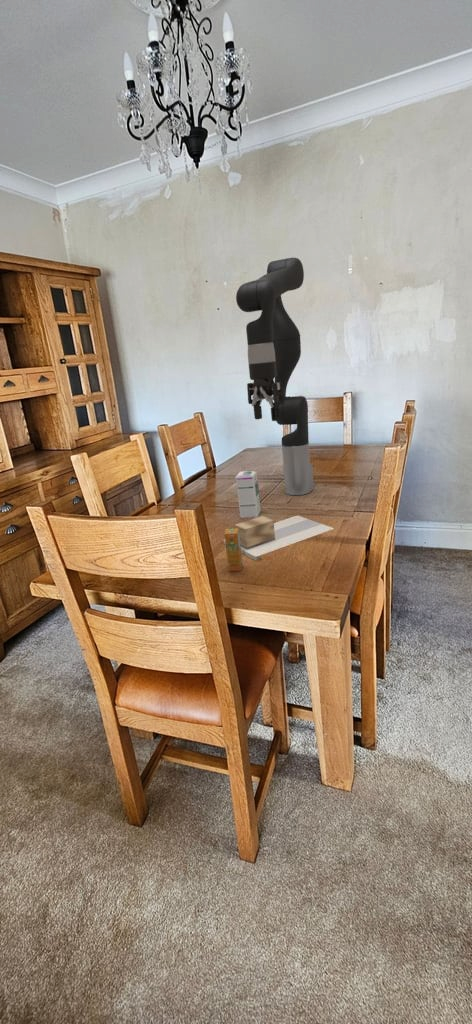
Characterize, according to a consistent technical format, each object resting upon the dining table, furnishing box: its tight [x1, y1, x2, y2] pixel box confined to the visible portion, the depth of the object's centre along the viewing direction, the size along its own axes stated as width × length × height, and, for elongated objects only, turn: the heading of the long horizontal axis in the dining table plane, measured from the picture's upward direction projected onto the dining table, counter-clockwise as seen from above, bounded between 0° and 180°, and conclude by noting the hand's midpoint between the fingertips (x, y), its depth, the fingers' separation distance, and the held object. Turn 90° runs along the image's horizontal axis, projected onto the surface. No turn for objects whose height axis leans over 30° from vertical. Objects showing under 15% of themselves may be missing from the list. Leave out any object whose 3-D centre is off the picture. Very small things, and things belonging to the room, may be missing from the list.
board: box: [222, 514, 334, 562], centre depth 131 cm, size 26×16×1 cm, turn 122°
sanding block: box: [234, 515, 275, 549], centre depth 127 cm, size 9×5×6 cm, turn 122°
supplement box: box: [224, 528, 244, 572], centre depth 115 cm, size 3×3×10 cm
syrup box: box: [235, 470, 262, 519], centre depth 148 cm, size 6×6×14 cm
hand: (266, 419), depth 138 cm, fingers open, 8 cm apart
